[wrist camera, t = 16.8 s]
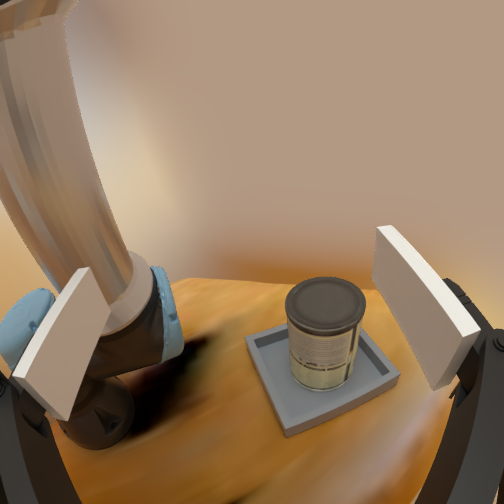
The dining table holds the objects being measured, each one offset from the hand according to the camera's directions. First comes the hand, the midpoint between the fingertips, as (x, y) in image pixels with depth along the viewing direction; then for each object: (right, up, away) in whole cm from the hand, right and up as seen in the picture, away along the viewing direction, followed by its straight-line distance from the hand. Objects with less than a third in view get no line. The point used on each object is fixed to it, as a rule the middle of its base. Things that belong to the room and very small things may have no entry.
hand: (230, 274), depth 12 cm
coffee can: (+12, -17, +30) cm, 36 cm away
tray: (+12, -18, +30) cm, 37 cm away
